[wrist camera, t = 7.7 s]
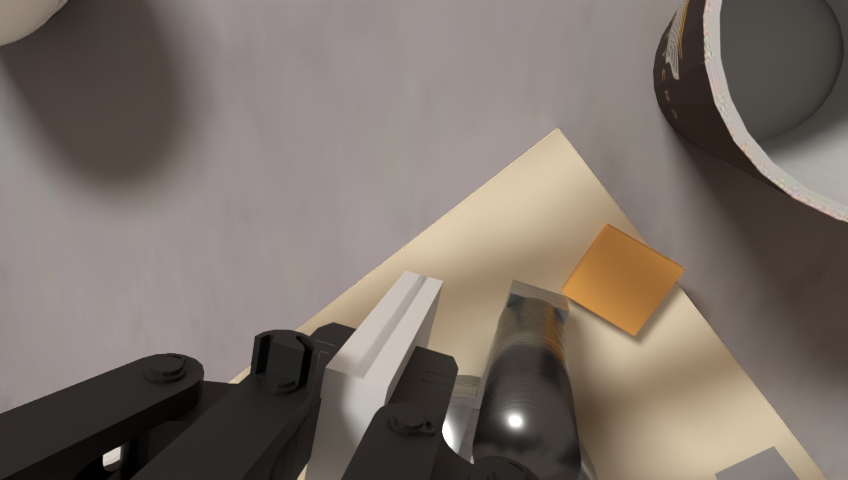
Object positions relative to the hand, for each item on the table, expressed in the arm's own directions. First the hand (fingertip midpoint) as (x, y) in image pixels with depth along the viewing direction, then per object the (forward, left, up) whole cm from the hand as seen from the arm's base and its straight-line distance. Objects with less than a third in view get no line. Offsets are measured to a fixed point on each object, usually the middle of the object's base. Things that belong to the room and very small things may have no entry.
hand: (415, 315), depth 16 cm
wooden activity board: (-8, +3, -7) cm, 11 cm away
